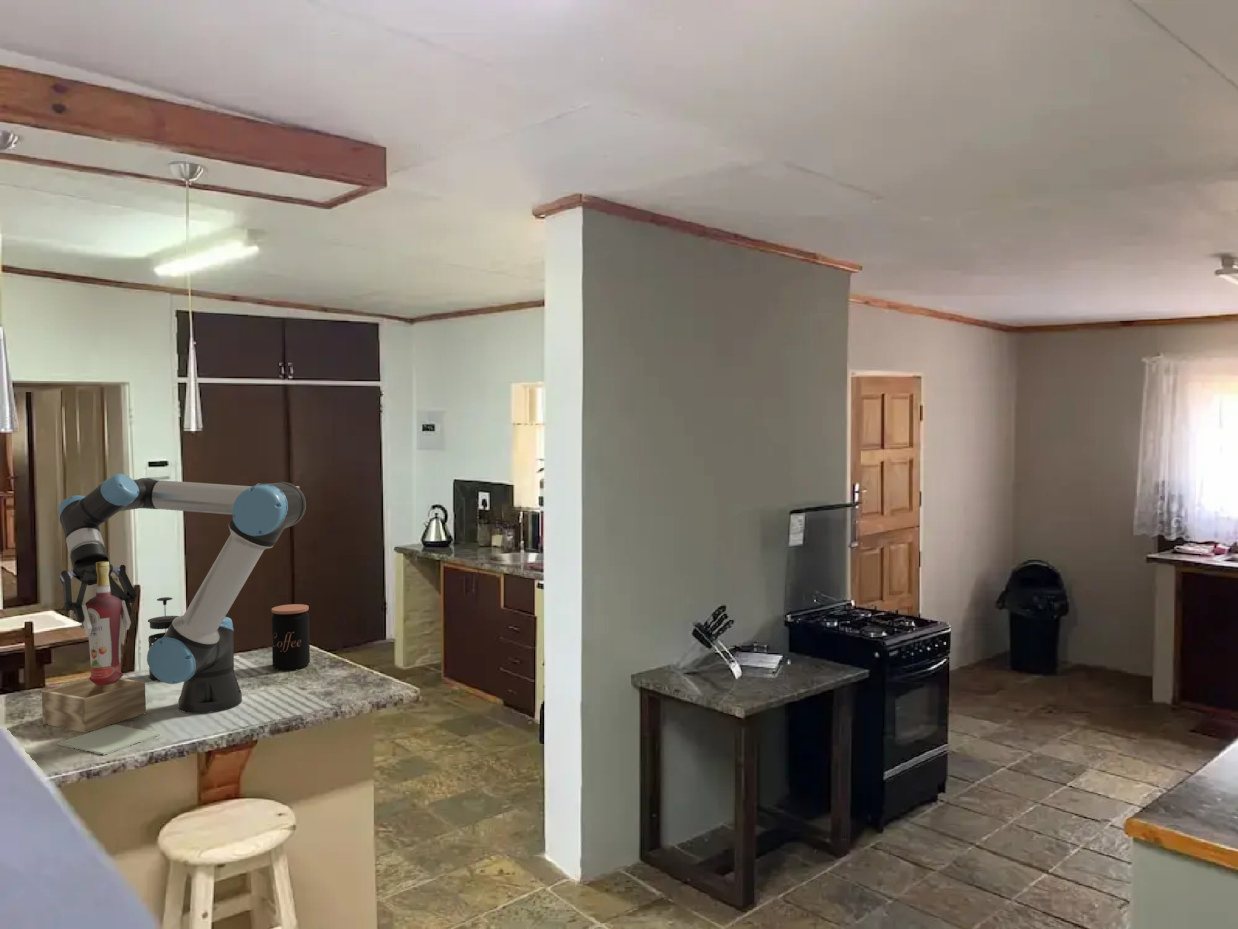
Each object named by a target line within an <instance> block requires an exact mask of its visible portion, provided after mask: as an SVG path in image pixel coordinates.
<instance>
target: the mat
mask: <svg viewBox="0 0 1238 929" xmlns="http://www.w3.org/2000/svg"><path fill="white" fill-rule="evenodd" d="M155 736H158V737H161V733H160V732H159V733H158V732H155V731H154V732H153V731H149V730H144V729H138V728H135V727H129V726H125V725H120V724H116V723H115V724H112V725H108V726H105V727H102V728H99V729H96V730H93V731H90V732H87V733H84V734H81V735H77V736H75V737H71V738H69V739H65V740H61V741H59V742H57V746H61V747H65V748H70V749H74V748H75V749H74V750H78V749H81V750H80V751H83V750H85V751H84V752H87V751H90V752H89V753H91V752H94V753H93V754H97V755H100V754H103V755H102V756H106V755H105V754H107V755H109V754H112V753H115V752H117V751H116V750H118V751H120V750H119V749H121V750H123V749H122V748H124V749H126V748H129V747H131V746H130V745H132V746H134V745H133V744H135V743H138V742H141V743H143V741H144V742H146V741H149V740H151V739H150V738H152V737H155ZM155 738H156V737H155ZM148 739H149V740H148ZM152 739H153V738H152ZM138 744H139V743H138ZM135 745H136V744H135ZM114 751H115V752H114Z"/></svg>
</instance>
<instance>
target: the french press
mask: <svg viewBox="0 0 1238 929" xmlns="http://www.w3.org/2000/svg"><path fill="white" fill-rule="evenodd" d="M172 600H173V597H170V596H167V597H159V598H157V599H156V601H158V602H159V601H160V602H162V605H163V606H164V607H163V610H164V611H163V612H164V615H163V616H157V617H156V616H155V617H152V618H149V619H148V620H147V622H148V623H149V628H150V630H164V632H159V633H154V634H151V635H148V637H147V638H148V640H147V641H148V649H149V648H150V647H151V645H152V644H153V643H154V642H155V641H157V640H158V639H160V638H163V637H164V635H165V633H166V632H167V630H168V628H169V627H170V625H171V623H172V621H173V620H174V619H175V618H176V617H179V616H180V615H166V613H167V612H166V609H167V608H166V605H167V601H172ZM148 671H149V672H148V673H149V674H148V679H149V680H150V679H151V680H150V681H156V680H158V679H157V678H156V677H155V676H154V675H153V674H152V673H151V671H150V668H149V667H148Z"/></svg>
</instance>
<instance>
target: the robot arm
mask: <svg viewBox="0 0 1238 929" xmlns="http://www.w3.org/2000/svg"><path fill="white" fill-rule="evenodd" d="M306 508H307V502H306V497H305V495H304V493H303V491H302V490H301V489H300V488H299V487H297V486H296V484H295V485H294V484H293V483H291V482H286V481H279V482H278V481H277V482H273V483H271V482H270V483H267V482H259V483H257V484H255V485H252V486H248V485H234V484H220V483H208V482H207V483H205V482H190V481H175V480H164V479H163V480H158V479H155V478H149V477H147V478H146V477H142V478H138V479H137V478H136V479H133V478H132V477H130V476H129V475H125V474H124V473H116V474H114V475H112V476H111V477H109V478H107V479H105V480H104V481H103V482H102V483H101V484H100V485H98V486H97V487H95V489H93V490H91V492H89V493H88V494H86V495H80V494H79V495H78V494H77V495H72V496H71V497H67V498H65V499H64V500H62V501H61V502H60V504H59V505H58V516H59V523H60V525H61V527H62V531H63V534H64V537H65V542H66V546H67V550H68V554H69V558H70V562H71V566H72V570H70V571H67V570H62V571H61V573H60V577H59V580H60V582H61V584H62V587H63V602H64V603H63V605H64V606H63V607H64V611H66V612H69V611H73V614H75V617H76V621H77V623H79V624H80V623H82V624H83V627H84V628H83V629H84V632H85V635H86V637H87V636H88V635H90V634H91V630H92V626H91V622H90V618H89V615H88V611H87V607H86V604H84V605H83V601H84V597H85V594H86V590H87V586H93V585H97V577H98V576H97V572H96V562H104V561H108V562H109V575H108V576H109V583H110V591H111V595H113V596H116V597H118V598H120V599H121V600H122V624H123V627H124V630H125V631H127V630H130V627H131V625H132V622H131V618H130V616H131V615H132V606H131V604H133V603H135V601H136V598H137V596H138V594H137V592H136V589H135V588H134V586H133V584H132V583H131V579H130V578H129V576H128V575H127V572H126V571H127V570H126V568H127V566H126V565H125V564H121V565H120V566H113V565H112V564H111V563H110V560H109V557H108V554H107V549H106V548H105V542H104V539H103V535H102V533H101V528H100V526H101V525H102V524H104V523H105V522H107V521H108V520H109V519H111V518H112V517H113V516H114V515H116V514H117V513H120V512H124V511H130V510H137V509H147V510H166V511H168V510H169V511H179V512H191V513H194V512H195V513H208V514H209V513H210V514H221V515H232V518H231V520H230V521H229V523H228V529H229V532H230V535H229V536H228V538H227V540H226V541H225V543H224V545H223V547H222V548H221V550H220V552H219V553H218V555H217V557H216V558H215V561H214V562H213V563H212V565H211V567H210V569H209V571H208V572H207V575H206V576H205V578H204V579H203V581H202V583H201V584H200V587H199V588H198V589H197V591H196V593H195V595H194V597H193V598H192V599H191V601H190V604H189V606H188V607H187V609H186V611H184V614H183V615H178V616H179V617H176V618H175V619H174V620H173V621H172V623H171V625H170V627H169V628H168V629H166V633H165V632H164V633H165V635H164V637H163V638H160V639H158V640H157V641H155V642H154V643H152V645H151V647H150V648H149V647H148V649H147V650H148V651H147V655H146V662H147V665H148V669H149V668H150V671H151V673H152V674H153V675H154V676H155V677H156V678H157V679H158V680H160V682H162V683H165V684H170V685H176V684H177V685H178V684H180V683H183V684H182V688H181V691H180V696H179V697H178V705H177V706H178V710H179V711H181V712H183V713H191V714H204V713H205V714H206V713H214V712H220V711H224V710H229V709H233V708H234V707H237V706H238V705H240V704H242V702H243V693H242V690H241V689H240V685H239V683H238V679H237V677H236V675H235V659H234V658H235V657H234V656H235V655H234V652H235V651H234V649H235V648H234V633H235V632H234V631H235V629H234V625H233V620H232V618H230V617H228V616H227V614H228V613H229V611H230V609H231V608H232V606H233V604H234V602H235V600H236V599H237V598H238V596H239V594H240V592H241V590H242V589H243V587H244V585H245V584H246V582H247V580H248V578H249V576H250V575H251V574H252V572H253V569H254V568H255V567H256V565H257V563H258V561H259V559H260V557H261V556H262V555H263V553H264V551H265V550H267V549H271V548H273V547H274V546H275V544H277V542H278V540H279V538H280V536H281V535H282V533H283V532H284V530H285V529H287V528H289V527H293V526H294V525H296V524H298V523H299V522H300V520H302V518H303V517H304V515H305V513H306V510H307V509H306ZM112 573H114V575H115V577H116V578H118V582H119V584H120V585H119V584H118V583H117V582H116V581H115V580H114V579H113V576H112V575H111V574H112ZM73 577H74V579H76V580H78V581H80V583H81V584H80V587H79V591H78V595H77V597H76V601H75V602H73V594H72V592H73V591H72V580H73ZM120 586H121V587H122V588H121V587H120Z"/></svg>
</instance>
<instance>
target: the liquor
mask: <svg viewBox="0 0 1238 929" xmlns="http://www.w3.org/2000/svg"><path fill="white" fill-rule="evenodd" d="M109 563H110V561H109V562H108V561H104V562H96V572H97V576H98V577H97V584H96V592H95V593H96V594H95V596H94V597H91V598H89V599H88V600H87V601H86V602H85V604H84V605H86V607H87V611H88V615H89V618H90V622H91V626H92V630H91V634H90V635H88V646H89V647H88V648H89V658H90V677H89V678H88V679H89V680H90V681H92V682H93V683H94V684H96V685H109V684H113V683H116V682H117V681H118V680H119V679H120V678H123V676H124V674H123V672H122V670H121V669H122V665H121V664H122V663H121V662H122V659H121V658H122V656H121V655H122V654H121V653H122V651H121V650H122V649H121V648H122V644H121V643H122V624H123V621H122V600H121V599H120V598H118V597H116V596H113V595H112V594H111V591H110V583H109V576H108V575H109Z"/></svg>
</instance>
